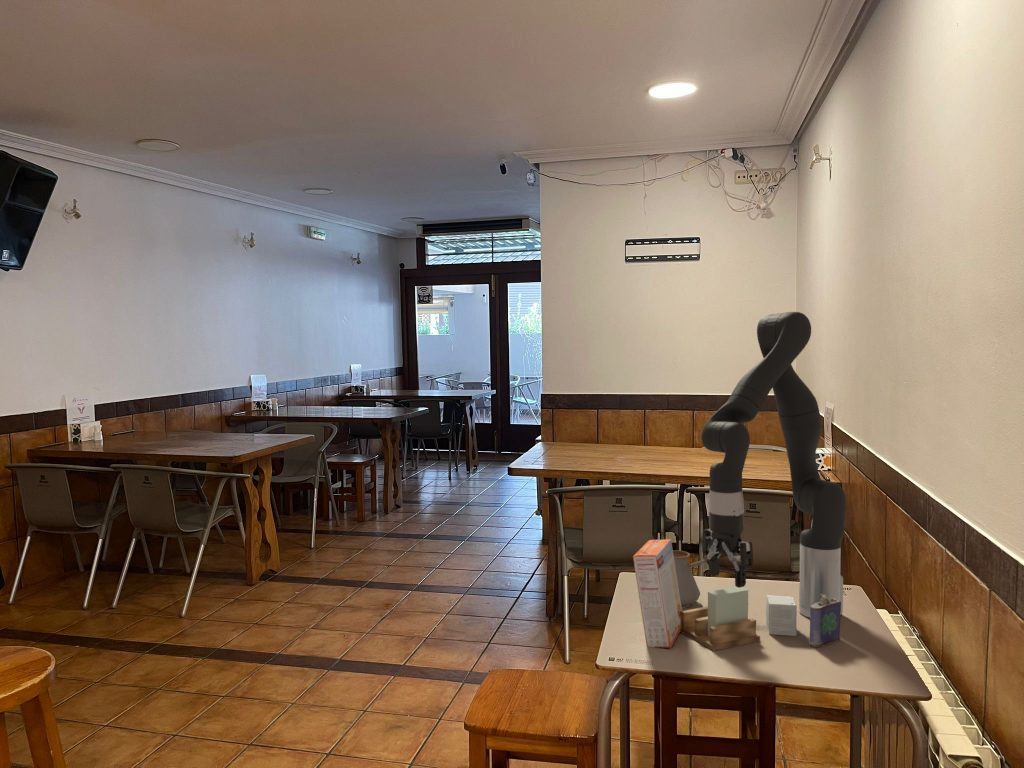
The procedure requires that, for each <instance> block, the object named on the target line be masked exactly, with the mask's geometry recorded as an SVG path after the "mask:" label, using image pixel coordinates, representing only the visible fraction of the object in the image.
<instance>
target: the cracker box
mask: <svg viewBox="0 0 1024 768" xmlns="http://www.w3.org/2000/svg"><path fill="white" fill-rule="evenodd" d="M673 549H674V548H673V542H672V539H668V538H667V539H649V540H647V542H645V544H644V545H642V547H641V548H640V549H639V550H637V552H635V554H634V555H633V556H632V559H633V560H632V562H633V566H634V571H635V578H636V585H637V592H638V599H639V604H640V612H641V617H642V618H641V619H642V624H643V631H644V636H645V637H644V638H645V645H646V646H647V645H648V646H647V647H650V646H654V647H653V648H657V647H661V649H662V648H663V649H664V648H665V649H668V648H669V649H672V647H673V644H674V643H675V641H676V639H677V638H678V636H679V635H680V633H681V628H682V621H681V611H683V610H682V609H683V608H681V602H680V595H679V589H678V582H677V575H676V569H675V562H674V555H673Z"/></svg>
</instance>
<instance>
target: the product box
mask: <svg viewBox="0 0 1024 768" xmlns="http://www.w3.org/2000/svg"><path fill="white" fill-rule="evenodd" d="M765 605H766V609H765V610H766V611H765V612H766V614H765V615H766V617H765V623H766V628H767V630H768V631H767V633H768V635H774V636H775V635H777V636H789V637H797V634H798V633H797V616H798V615H797V611H798V610H797V604H796V602H795V599H794V597H793V596H786V595H785V596H783V595H771V594H767V595H766V603H765Z"/></svg>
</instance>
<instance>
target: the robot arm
mask: <svg viewBox="0 0 1024 768" xmlns="http://www.w3.org/2000/svg"><path fill="white" fill-rule="evenodd" d="M811 334H812V325H811V321H810V319H809V318H808V317H807V315H806V314H804V313H803V312H799V311H787V312H786V311H785V312H781V313H780V312H779V313H778V312H777V313H771V314H767V315H764V316H762V317H761V318H760V319H759V321H758V322H757V328H756V336H757V342H758V346H759V349H760V352H761V356H762V357H763V359H761V360H760V361H759V362H758V363H757V364H756V365H754V366H753V367H752V368H751V369H749V371H747V372H746V373H745V374H743V376H742V377H741V378H740V380H739V381H738V382H737V384H736V386H735V387H734V389H733V391H732V392H731V394H730V396H729V397H728V398H727V399H728V400H727V401H726V402H725V403H724V404H723V405H722V406H721V407H720V408H719V409H717V410H716V412H714V414H712V415H711V417H710V418H709V419H707V421H706V422H705V424H704V426H703V427H702V429H701V437H700V439H701V444H702V445H703V447H704V448H705V449H706V450H709V451H711V452H716V453H723V454H724V458H723V461H722V462H721V461H720V462H716V463H713V464H712V465H711V466H710V468H709V496H708V527H709V528H706V529H703V530H702V546H701V547H702V554H703V556H706V557H707V558H708V559H709V562H708V571H709V575H710V576H711V577H717V576H719V575H720V559H717V558H719V556H720V555H721V554H724V555H725V557H727V558H728V559H729V561H730V562H731V563H732V564H733V567H734V569H735V570H734V582H735V583H734V584H735V586H734V587H738V588H740V587H743V588H745V586H746V584H747V571H748V570H749V571H750V570H753V569H754V553H753V551H754V549H753V543H752V541H744V540H742V533H743V532H744V531H745V501H744V499H745V498H744V495H743V493H744V491H743V470H744V467H745V463H746V460H747V455H748V453H749V448H750V442H751V436H750V433H749V432H750V431H748V429H747V427H746V425H744V424H747V423H749V422H751V421H753V420H754V419H755V418H756V417H757V415H758V413H759V411H760V410H761V408H762V406H763V404H764V403H765V400H766V399H767V397H768V395H769V394H770V392H771V391H772V392H773V395H774V399H775V404H776V408H777V409H776V410H777V414H778V415H777V416H778V419H779V423H780V427H781V432H782V434H783V435H782V436H783V439H784V444H785V449H786V455H787V459H788V464H789V471H790V480H791V489H792V496H793V501H794V503H795V506H796V507H797V508H798V510H799V511H801V512H802V513H804V514H806V515H809V516H812V520H811V521H812V522H811V527H810V528H808V529H807V528H806V529H804V530H802V531H801V532H800V534H799V593H798V595H799V596H798V597H799V599H798V601H799V603H798V604H799V605H798V611H799V613H800V614H801V615H802V616H805V617H806V618H809V619H810V606H811V605H813V604H815V603H818V602H820V601H821V598H822V596H823V595H822V596H821V595H820V594H824V595H826V596H827V597H828V598H827V599H830V598H833V599H837V600H840V601H841V613H840V616H842V615H843V614H844V611H843V610H844V609H843V608H844V577H843V576H842V575H841V554H842V553H841V548H842V547H841V546H842V544H841V543H842V539H843V537H844V535H845V530H846V517H847V497H846V496H847V495H846V493H845V490H844V489H843V487H842V486H841V485H839V483H835V482H833V481H828V480H825V479H821V476H820V473H819V469H818V466H817V459H816V454H817V449H818V446H819V442H820V439H821V436H822V430H823V424H822V423H823V422H822V418H821V414H820V408H819V404H818V401H817V398H816V397H815V395H814V394H813V392H812V391H811V390H810V388H809V387H808V386H807V384H805V382H804V381H803V380H802V379H801V377H799V375H798V374H797V373H796V370H795V369H794V367H793V365H792V363H793V362H795V360H796V359H797V357H798V356H799V355H800V354H801V353H802V352H803V350H804V349H805V347H806V346H807V345H808V343H809V341H810V340H811V336H812V335H811ZM707 558H706V559H707ZM819 595H820V596H819ZM841 614H842V615H841Z"/></svg>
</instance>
